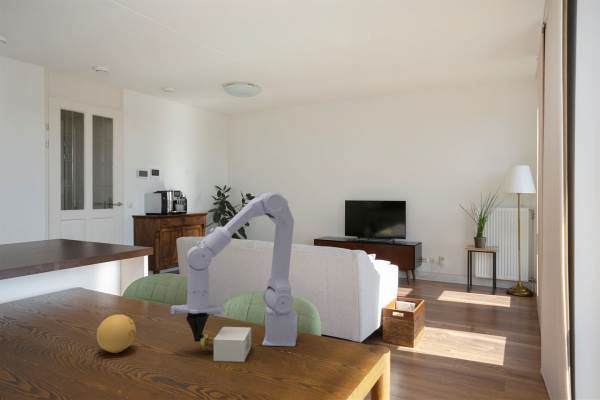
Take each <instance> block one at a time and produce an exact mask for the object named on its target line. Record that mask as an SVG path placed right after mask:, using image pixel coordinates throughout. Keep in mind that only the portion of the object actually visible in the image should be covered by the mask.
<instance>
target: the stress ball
mask: <svg viewBox="0 0 600 400" xmlns="http://www.w3.org/2000/svg"><path fill="white" fill-rule="evenodd" d="M136 332H137V329H136V325H135V322H134V320H133V318H131V317H129V316H127V315H126V314H123V313H121V314H113V315H110V316H108V317H106V318H105V319H103V321H101V322H100V324H99V326H98V328H97V331H96V340H97V344H98V345H99V346H100V347H101V348H102V350H104V351H106V352H109V353H112V354H119V353H121V352H122V351H124V350H126V349H127V348H128V347H130V346H131V345H132V344H133V342H134V340H135V338H136V335H137V333H136Z"/></svg>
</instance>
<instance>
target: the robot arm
mask: <svg viewBox="0 0 600 400" xmlns="http://www.w3.org/2000/svg"><path fill="white" fill-rule="evenodd" d="M288 201H289V200H287V199H286V198H285V197H284V196H283V195H282V194H281V193H279V192H276V191H274V192H267V191H264V192H260V193H258V195H257V197H254V198H253V199H251V200H250V201H249V202H248V203H247V204H246V205H245V206H244V207H243V208H241V209H240V210H239V211H238V213H236V214H235V215H234V216H233V217H232V218H231V219H230V220H229V221H227V223H226V224H225V225H224V226H216V227H215V228H213V227H211V229H209V230H208V231H209V233H208V234H207V235H206V236H205V237H204V238H203V239H201V241H200V240H198V241H197V242H196V245H195V246H192V247H191V248H189V250H187V254H186V256H185V260H186V262H187V264H188V265H187V275H186V277H187V278H186V279H187V287H186V288H187V290H186V291H187V297H186V298H187V300H186V301H187V302H186V303H187V304H180V305H179V304H178V305H177V304H175V305H172V306H171V307H170V315H175V314H181V315H187V316H186V318H185V319H186V321H187V324H188V325H189V327H190V329H191V331H192V335H193V339H194V340H193V341H194V342H196V343H197V342H198V343H200V338H201V335H202V334H204V329H205V327H206V326H205V325H206V323H207V321H208V319H209V317H210V315H214V316H215V315H216V316H217V315H219V316H225V314H226V306H221V305H212V304H210V273H209V266H210V265H211V263H212V259H214V258H215V257H216V256H218V254H219V253H221V252H222V251H223V250H224V249H225V248H226V247H227V246H228V245H230V244H231V242H232V236H233V235H234V234H235V233H236V232H237V231H238V230H240V229H241V228H242V227H244V225H246V224H247V223H248V222H249V221H251V220H252V219H253V218H255V217H256V218H257V217H262V216H263V217H264V216H267V217H268V218H269V219H270V220H271V221H272V223H274V225H275V229H274V240H273V241H274V242H273V251H272V259H271V260H272V263H271V273H270V278H269V279H268V281H267V284H266V288H265V290H264V292H263V295H262V297H263V298H262V299H263V302H264V303H265V304H266V308H265V312H264V313H265V318H264V319H265V320H264V321H265V327H264V328H265V329H264V331H265V333H264V338H263V341H262V344H261V345H262V346H266V347H268V346H271V347H272V346H273V347H275V346H276V347H295V346H296V345H297V339H298V331H297V330H298V327H297V326H298V314H297V311H292V308H293V304H294V299H293V296H292V286H291V284H290V281H289V277H290V275H289V274H290V265H291V254H292V246H293V245H292V244H293V234H294V224H295V223H294V222H295V220H294V217H293V215H292V211H291V210H290V206H289V202H288Z"/></svg>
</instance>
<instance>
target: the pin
mask: <svg viewBox="0 0 600 400" xmlns="http://www.w3.org/2000/svg"><path fill="white" fill-rule="evenodd" d="M214 338H215V337H209V334H207V333H206V334H205V333H202V335H201V338H200V341H199V349H200V350H202V351H203V350H205V351H206V350H207V349H208V347H214ZM248 346H249V339H246V347H247V348H248Z"/></svg>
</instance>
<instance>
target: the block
mask: <svg viewBox="0 0 600 400" xmlns="http://www.w3.org/2000/svg"><path fill="white" fill-rule="evenodd" d="M213 338H214V346H213V361H214V362H239V363H241V362H242V363H244V362H245V361H246V358H247V357H248V355H249V352H250V350H251V347H252V327H247V326H246V327H244V326H243V327H242V326H241V327H240V326H237V327H236V326H223V327H222V328H221V329H220V330H219V332H218V333H217V334H216V336H215V337H213ZM246 339H249V346H248V348H247V347H246Z"/></svg>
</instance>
